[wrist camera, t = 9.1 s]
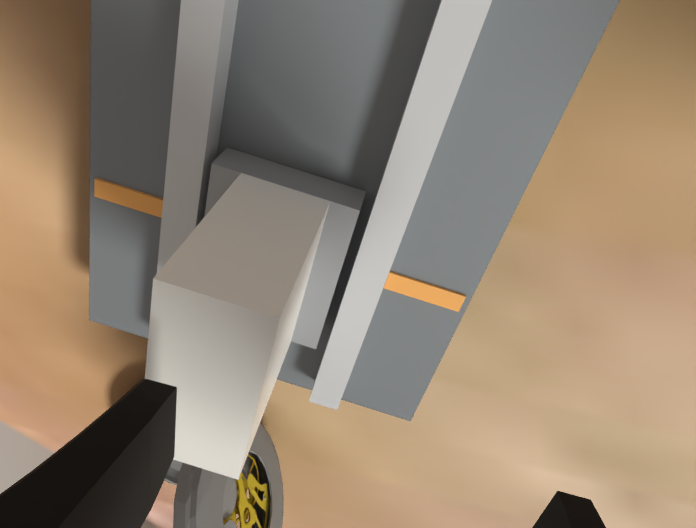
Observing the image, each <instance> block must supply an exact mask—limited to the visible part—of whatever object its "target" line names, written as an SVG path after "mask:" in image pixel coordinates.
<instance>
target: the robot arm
mask: <svg viewBox="0 0 696 528" xmlns="http://www.w3.org/2000/svg"><path fill="white" fill-rule="evenodd" d="M176 400H177V387H175V386H171V385H167V384H164V383H160V382H156V381H153V380H149V379H144V380H142V381H140V382H139V383H138V384H136V385H135V386H134V387H133V388H132V389H131V390H130V391H129V392H127V393H126V394H125V395H124V396H123V397H122V398H121V399H120V400H118V401H117V402H116V403H115V404H114V405H113V406H112V407H110V408H109V409H108V410H107V411H106V412H105V413H103V414H102V415H101V416H100V417H99V418H97V419H96V420H95V421H94V422H93V423H91V424H90V425H89V426H88V427H87V428H85V429H84V430H83V431H82V432H81V433H79V434H78V435H77V436H76V437H74V438H73V439H72V440H71V441H69V442H68V443H67V444H66V445H64V446H63V447H62V448H61V449H59V450H58V451H57V452H56V453H54V454H53V455H52V456H51V457H49V458H48V459H47V460H46V461H44V462H43V463H42V464H40V465H39V466H38V467H36V468H35V469H34V470H33V471H31V472H30V473H29V474H27V475H26V476H24V477H23V478H22V479H20V480H19V481H18V482H16V483H15V484H13V485H12V486H11V487H9V488H8V489H7V490H5V491H4V492H2V493H1V494H0V528H141V526H142V524H143V523H144V521H145V519H146V517H147V515H148V514H149V512H150V510H151V508H152V506H153V504H154V501H155V499H156V497H157V495H158V493H159V490H160V488H161V486H162V484H163V481H164V479H165V477H166V474H167V472H168V470H169V468H170V465H171V463H172V461H173V458H174V451H175V426H176ZM533 528H606V527H605V525H604V523H603V521H602V520H601V518H600V516H599V514H598V512H597V510H596V509H595V507H594V505H593V503H592V501H591V500H589V499H586V498H582V497H578V496H575V495H571V494H567V493H564V492H560V491H557V493H556V494H555V495H554V497H553V498H552V500H551V501H550V503H549V504H548V506H547V507H546V509H545V510H544V512H543V513H542V514H541V516H540V517H539V519H538V520H537V522H536V523H535V525H534V526H533Z"/></svg>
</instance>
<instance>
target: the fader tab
mask: <svg viewBox="0 0 696 528" xmlns="http://www.w3.org/2000/svg"><path fill="white" fill-rule="evenodd" d="M365 193H366V191H363V190H360V189H357V188H354V187H350V186H347V185H344V184H341V183H338V182H335V181H332V180H328V179H325V178H322V177H319V176H316V175H313V174H310V173H306V172H303V171H300V170H297V169H294V168H291V167H288V166H284V165H281V164H278V163H275V162H272V161H269V160H266V159H263V158H259V157H256V156H253V155H250V154H247V153H244V152H241V151H237V150H234V149H231V148H228V147H227V148H226V149H225V150H224V151H223V152H222V153H221V154H220V155H219V156H218V157H217V158H216V159H215V160H214V161H213V162H212V164H211V171H210V179H209V186H208V193H207V200H206V208H205V215H204V218H203V219H202V221H201V222H200V223H199V224H198V225H197V227H196V228H195V229H194V230H193V231H192V233H191V234H190V235H189V236H188V237H187V239H186V240H185V241H184V242H183V243H182V245H181V246H180V247H179V248H178V249H177V251H176V252H175V253H174V254H173V255H172V257H171V258H170V259H169V260H168V261H167V263H166V264H165V265H164V266H163V267H162V269H161V270H160V271H159V272H158V273H157V275H156V276H155V277H154V278H153V287H152V299H151V310H150V322H149V334H148V346H147V357H146V369H145V379H149V380H153V381H156V382H160V383H164V384H167V385H171V386H175V387H177V400H176V426H175V451H174V458H173V460H176V461H180V462H183V463H186V464H189V465H192V466H196V467H199V468H202V469H205V470H208V471H212V472H215V473H218V474H221V475H224V476H228V477H231V478H234V479H237V480H238V479H239V476H240V474H241V471H242V469H243V466H244V463H245V461H246V458H247V456H248V453H249V450H250V448H251V445H252V442H253V440H254V437H255V435H256V432H257V429H258V427H259V424H260V421H261V419H262V416H263V414H264V411H265V408H266V406H267V403H268V401H269V398H270V395H271V393H272V390H273V387H274V385H275V382H276V380H277V377H278V374H279V372H280V369H281V366H282V364H283V361H284V359H285V356H286V353H287V351H288V348H289V346H290V343H291V342H294V343H298V344H301V345H304V346H307V347H310V348H313V349H316V348H317V344H318V341H319V338H320V335H321V332H322V329H323V326H324V322H325V319H326V316H327V313H328V310H329V307H330V303H331V300H332V297H333V294H334V291H335V288H336V285H337V281H338V278H339V275H340V272H341V269H342V266H343V263H344V259H345V256H346V253H347V250H348V247H349V244H350V241H351V237H352V234H353V231H354V228H355V225H356V222H357V219H358V215H359V212H360V209H361V206H362V203H363V200H364V196H365Z"/></svg>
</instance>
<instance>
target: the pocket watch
mask: <svg viewBox="0 0 696 528" xmlns="http://www.w3.org/2000/svg"><path fill="white" fill-rule="evenodd" d="M164 480H165V481H167V482H169V483H171V484H175V485H177V489H176V494H175V499H174V522H173V528H237V527H236V525H237V522H238V521H239V520H240V528H241V524H242V528H282V523H283V500H284V498H283V483H282V477H281V471H280V465H279V459H278V456H277V453H276V450H275V446H274V444H273V442H272V440H271V437H270V435H269V433H268V432H267V430H266V429H265V427H264V426H263V425H262V424H261V423H260V424H259V427H258V429H257V432H256V435H255V437H254V440H253V442H252V445H251V448H250V450H249V453H248V456H247V458H246V461H245V463H244V466H243V469H242V471H241V474H240V476H239V479H238V480H237V479H234V478H231V477H228V476H224V475H221V474H218V473H215V472H212V471H208V470H205V469H202V468H199V467H196V466H192V465H189V464H186V463H183V462H180V461H176V460H173V461H172V463H171V465H170V468H169V470H168V472H167V474H166V477H165V479H164ZM247 489H249V495H250V498H249V499H247V497H246V492H247ZM236 514H238V515H239V517H238V518H237V520H236ZM248 515H249V520H248V522H247V521H246V520H247V519H248Z"/></svg>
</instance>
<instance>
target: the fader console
mask: <svg viewBox="0 0 696 528" xmlns="http://www.w3.org/2000/svg"><path fill="white" fill-rule="evenodd" d="M619 1H620V0H91V61H90V259H89V320H91V321H94V322H97V323H100V324H103V325H106V326H110V327H113V328H116V329H119V330H122V331H125V332H129V333H132V334H135V335H138V336H141V337H145V338H148V334H149V322H150V310H151V299H152V287H153V278H154V277H155V276H156V275H157V273H158V272H159V271H160V270H161V269H162V267H163V266H164V265H165V264H166V263H167V261H168V260H169V259H170V258H171V257H172V255H173V254H174V253H175V252H176V251H177V249H178V248H179V247H180V246H181V245H182V243H183V242H184V241H185V240H186V239H187V237H188V236H189V235H190V234H191V233H192V231H193V230H194V229H195V228H196V227H197V225H198V224H199V223H200V222H201V221H202V219H203V218H204V215H205V208H206V200H207V193H208V186H209V179H210V171H211V164H212V162H213V161H214V160H215V159H216V158H217V157H218V156H219V155H220V154H221V153H222V152H223V151H224V150H225V149H226V148H227V147H228V148H231V149H234V150H237V151H241V152H244V153H247V154H250V155H253V156H256V157H259V158H263V159H266V160H269V161H272V162H275V163H278V164H281V165H284V166H288V167H291V168H294V169H297V170H300V171H303V172H306V173H310V174H313V175H316V176H319V177H322V178H325V179H328V180H332V181H335V182H338V183H341V184H344V185H347V186H350V187H354V188H357V189H360V190H363V191H366V193H365V196H364V200H363V203H362V206H361V209H360V212H359V215H358V219H357V222H356V225H355V228H354V231H353V234H352V237H351V241H350V244H349V247H348V250H347V253H346V256H345V259H344V263H343V266H342V269H341V272H340V275H339V278H338V281H337V285H336V288H335V291H334V294H333V297H332V300H331V303H330V307H329V310H328V313H327V316H326V319H325V322H324V326H323V329H322V332H321V335H320V338H319V341H318V344H317V348H316V349H313V348H310V347H307V346H304V345H301V344H298V343H294V342H291V343H290V346H289V348H288V351H287V353H286V356H285V359H284V361H283V364H282V366H281V369H280V372H279V374H278V377H277V379H278V380H281V381H284V382H287V383H291V384H294V385H297V386H300V387H303V388H306V389H310V390H312V392H311V395H310V399H309V402H312V403H316V404H319V405H322V406H325V407H328V408H332V409H335V410H337V409H338V406H339V404H340V401H341V400H345V401H348V402H351V403H354V404H357V405H360V406H364V407H367V408H370V409H373V410H376V411H379V412H383V413H386V414H389V415H392V416H395V417H398V418H402V419H405V420H408V421H411V419H412V417H413V415H414V413H415V411H416V409H417V407H418V405H419V403H420V401H421V399H422V397H423V395H424V393H425V391H426V389H427V387H428V385H429V383H430V381H431V379H432V377H433V375H434V373H435V371H436V369H437V367H438V365H439V363H440V361H441V359H442V357H443V355H444V353H445V351H446V349H447V347H448V345H449V343H450V341H451V339H452V337H453V335H454V333H455V331H456V329H457V327H458V325H459V323H460V321H461V318H462V316H463V314H464V312H465V310H466V308H467V306H468V304H469V302H470V300H471V298H472V296H473V294H474V292H475V290H476V288H477V286H478V284H479V282H480V280H481V278H482V276H483V274H484V272H485V270H486V268H487V266H488V264H489V262H490V260H491V258H492V256H493V254H494V252H495V250H496V248H497V246H498V244H499V242H500V240H501V238H502V236H503V234H504V232H505V230H506V228H507V226H508V224H509V222H510V220H511V218H512V216H513V214H514V212H515V210H516V208H517V206H518V204H519V202H520V200H521V198H522V196H523V194H524V192H525V190H526V188H527V186H528V184H529V182H530V180H531V178H532V176H533V174H534V172H535V170H536V168H537V166H538V164H539V162H540V160H541V158H542V156H543V154H544V152H545V150H546V148H547V146H548V144H549V142H550V140H551V138H552V136H553V133H554V131H555V129H556V127H557V125H558V123H559V121H560V119H561V117H562V115H563V113H564V111H565V109H566V107H567V105H568V103H569V101H570V99H571V97H572V95H573V93H574V91H575V89H576V87H577V85H578V83H579V81H580V79H581V77H582V75H583V73H584V71H585V69H586V67H587V65H588V63H589V61H590V59H591V57H592V55H593V53H594V51H595V49H596V47H597V45H598V43H599V41H600V39H601V37H602V35H603V33H604V31H605V29H606V27H607V25H608V23H609V21H610V19H611V17H612V15H613V13H614V11H615V9H616V7H617V5H618V3H619Z"/></svg>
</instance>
